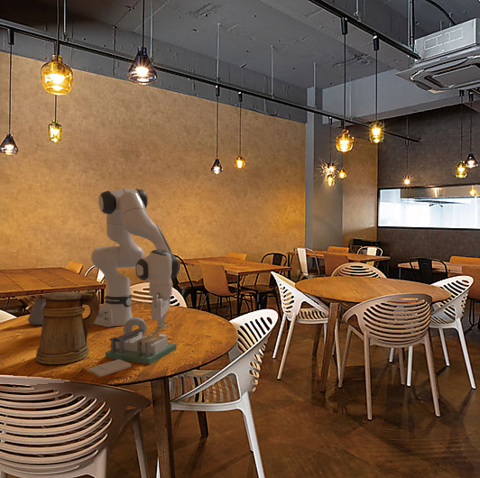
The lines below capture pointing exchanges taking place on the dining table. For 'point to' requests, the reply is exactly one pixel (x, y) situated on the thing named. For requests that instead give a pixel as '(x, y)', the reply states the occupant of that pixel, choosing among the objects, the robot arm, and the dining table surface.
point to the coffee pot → (37, 312)
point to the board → (140, 349)
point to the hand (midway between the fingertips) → (161, 325)
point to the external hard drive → (109, 367)
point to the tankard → (66, 326)
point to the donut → (135, 321)
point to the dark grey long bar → (129, 334)
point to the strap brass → (153, 334)
